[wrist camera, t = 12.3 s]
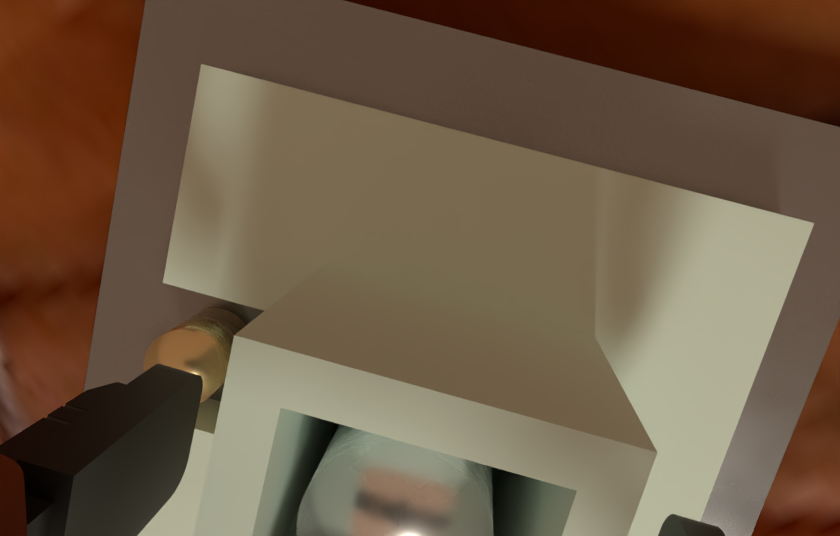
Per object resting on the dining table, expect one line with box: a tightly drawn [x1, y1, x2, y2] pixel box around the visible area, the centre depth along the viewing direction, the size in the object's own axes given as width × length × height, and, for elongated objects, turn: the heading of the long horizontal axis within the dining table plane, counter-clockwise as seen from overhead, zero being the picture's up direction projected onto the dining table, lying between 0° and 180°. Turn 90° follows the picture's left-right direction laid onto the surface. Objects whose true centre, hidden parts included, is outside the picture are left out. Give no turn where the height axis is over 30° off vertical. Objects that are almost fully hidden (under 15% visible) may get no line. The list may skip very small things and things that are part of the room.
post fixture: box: [84, 0, 840, 536], centre depth 14 cm, size 16×16×8 cm
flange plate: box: [137, 64, 814, 536], centre depth 12 cm, size 12×12×6 cm
